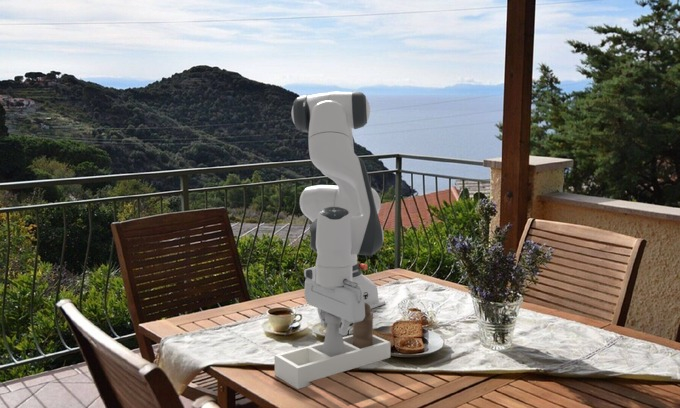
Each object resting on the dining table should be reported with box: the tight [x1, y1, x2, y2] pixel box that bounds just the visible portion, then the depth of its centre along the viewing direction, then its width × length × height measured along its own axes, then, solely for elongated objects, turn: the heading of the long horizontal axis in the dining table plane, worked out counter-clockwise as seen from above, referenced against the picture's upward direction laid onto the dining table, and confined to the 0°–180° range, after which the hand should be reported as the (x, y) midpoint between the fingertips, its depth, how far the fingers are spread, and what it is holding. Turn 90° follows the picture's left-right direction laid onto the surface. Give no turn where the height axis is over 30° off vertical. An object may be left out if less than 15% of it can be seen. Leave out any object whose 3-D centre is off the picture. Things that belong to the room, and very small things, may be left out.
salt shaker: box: [322, 312, 345, 357], centre depth 164 cm, size 6×6×13 cm
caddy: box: [273, 334, 392, 390], centre depth 165 cm, size 28×10×5 cm, turn 127°
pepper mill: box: [352, 302, 374, 349], centre depth 169 cm, size 5×5×14 cm
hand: (334, 330), depth 164 cm, fingers open, 6 cm apart
